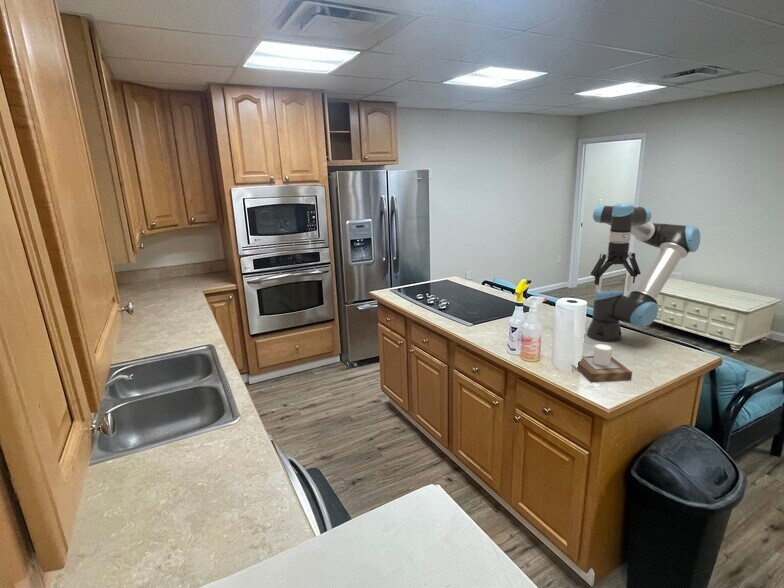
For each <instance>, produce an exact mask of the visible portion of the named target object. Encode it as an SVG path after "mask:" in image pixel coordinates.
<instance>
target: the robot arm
mask: <svg viewBox="0 0 784 588" xmlns="http://www.w3.org/2000/svg"><path fill="white" fill-rule="evenodd" d="M592 218H593V221H594V222H595V223H600V224H605V225H609V226H610V230H609V238H608V241H609V242H608V247H607V248H608V249H607V251H608V252H607V254H604V253H600V254H599V259H598V260H597V262H596V264H595V265H594V267H593V269H592V270H591V272H590V276H592V277H594V282H593V283H594V285H595V293H594V299H593V301H594V303H593V309H592V320H591V321H590V324H589V325H588V328H587V330H586V331H587V333H586V335H587V336H588V337H589V338H590V339H593V340H594V341H595V340H596V341H600V342H607V343H612V342H613V343H614V342H619V341H621V340H622V330H621V326H620V322H624V323H627V324H631V325H633V326H638V327H642V328H643V327H648V326H650V325H651V324H652V323H653V322H654V321H655V320H656V319H657V316H658V313H659V306H658V300H657V298H658V297H659V295H660V293H661V291H662V290H663V288H664V286H665V285H666V284H667V282H668V280H669V278H670V276H671V275H672V273H673V272H674V270H675V268H676V266H677V265H678V263H679V262H680V260H681V259H684V258H686V257H687V256H688V254H689V253H695V252H696V251H698V249H699V247H700V244H701V232H700V229H699V228H698V227H697V226H694V225H688V224H687V225H682V224H671V223H657V222H650V221H651V218H652V212H651V210H650V209H649V208H648V207H646V206H635V205H634V204H633V203H616V204H613V205H599V206H596V207H595V209H594V210H593V214H592ZM631 235H632V236H634V237H635V239H636V240H637V241H640V242H642V243H643V244H646V245H649V246H651V247H655V248H658V249H659V250H660V252H659V253H658V255H657V256H656V258H655V260H654V261H653V262H652V265H651V266H650V268H649V269H648V271H647V273H646V274H645V276H644V277H643V279H642V280H641V282H640V284H639V285H638V287H637V289H636V290H633V284H635V280H636V277H638V276H639V275H641V271H640V268H639V265H638V262H637V260H636V253H634V252H629V249H630V241H631ZM627 259H629V262H630V264H631V265H630V264H629V262H628V260H627ZM614 265H622V266H623V267H624V268H625V270H626V271H627V272H628V275H627V281H626V287H625V289H626V291H627V292H630V294H628V296H626V295H624V293H623V291H622V290H618V289H602V281H603V280H602V279H603V277H602V276H603V275H604V274H605V272H606V271H607V270H608V269H610V267H611V266H614Z"/></svg>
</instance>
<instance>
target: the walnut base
mask: <svg viewBox="0 0 784 588" xmlns="http://www.w3.org/2000/svg"><path fill="white" fill-rule="evenodd" d="M577 369H578V370H577ZM577 369H576V370H577V371H578V372H579V373H580V374H581V375H582V376H583V377H585V379H586V380H588V381H589V382H590V383H600V382H601V383H605V382H619V381H620V382H621V381H622V382H623V381H632V377H633V371H632V370H631V369H629V368H628V367H626V366H625V365H624V364H622V363H621V362H619V361H618V360H617V359H616V358H614V357H613V356H611V359H610V363H609V365H608V366H600V365H597V364H595V363H594V355H586V356H585V355H583V356H582V359H581V361H579V362H578V367H577Z"/></svg>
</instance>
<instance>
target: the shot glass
mask: <svg viewBox="0 0 784 588" xmlns="http://www.w3.org/2000/svg"><path fill="white" fill-rule="evenodd" d="M613 350H614V347H613V346H611V345H609V344H605V343H596V344H594V345H593V356H594V363H595V364H597V365H600V366H608V365H609V363H610V359H611V357H612V354H613Z"/></svg>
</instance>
